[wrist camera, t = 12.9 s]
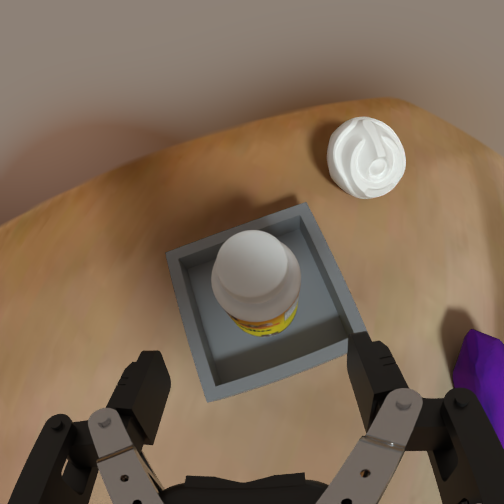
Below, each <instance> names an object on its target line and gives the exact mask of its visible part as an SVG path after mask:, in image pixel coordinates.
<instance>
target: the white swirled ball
mask: <svg viewBox="0 0 504 504" xmlns="http://www.w3.org/2000/svg"><path fill="white" fill-rule="evenodd" d="M327 163H328V167H329V173H330V176H331V178H332V179H333V181H334V182H335V183H336V184H337V185H338V186H339V187H340V188H341V189H342V190H344V191H345V192H347V193H348V194H350V195H352V196H354V197H357V198H361V199H370V198H375V197H379V196H382V195H384V194H386V193H388V192H389V191H391V190H392V189H393V188H394V187H395V186H396V184H397V183H398V182H399V181H400V179H401V178H402V176H403V174H404V171H405V166H406V157H405V152H404V149H403V146H402V144H401V142H400V140H399V138H398V136H397V135H396V133H395V132H394V131H393V130H392V129H391V128H390V127H389V126H388V125H386V124H385V123H383V122H381V121H379V120H377V119H373V118H369V117H357V118H353V119H350V120H348V121H346V122H344V123H343V124H342V125H340V126H339V127H338V128H337V129H336V130H335V131H334V132H333V133H332V135H331V137H330V140H329V145H328V149H327Z"/></svg>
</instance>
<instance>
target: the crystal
mask: <svg viewBox="0 0 504 504" xmlns="http://www.w3.org/2000/svg"><path fill="white" fill-rule="evenodd" d="M453 382H454V387H455V388H466V389H469V390H471V391H472V392H474V393H475V395H476V396H477V398H478V400H479V402H480V403H481V405H482V407H483V409H484V411H485V413H486V415H487V416H488V418H489V420H490V422H491V424H492V426H493V428H494V430H495V432H496V434H497V436H498V438H499V440H500V442H501V444H502V447H503V449H504V344H503V343H502V342H501V341H500V340H499V339H497V338H494V337H492V336H489V335H487V334H484V333H481V332H479V331H476V330H474V329H471V330H470V331H469V332H468V333H467V335H466V336H465V338H464V341H463V344H462V347H461V350H460V354H459V357H458V360H457V362H456V365H455V368H454V371H453Z"/></svg>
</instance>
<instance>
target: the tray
mask: <svg viewBox="0 0 504 504" xmlns="http://www.w3.org/2000/svg"><path fill="white" fill-rule="evenodd" d="M247 230H259V231H264V232H267V233H269V234H271V235H272V236H274V237H275V238H277V239H278V240H279V241H280V242H282V243H283V244H285V245H286V246H287V247H288V248H289V249H290V250H291V251H292V252H293V254H294V255H295V257H296V259H297V261H298V263H299V267H300V272H301V285H300V292H299V300H298V306H297V312H296V315H295V317H294V319H293V321H292V323H291V324H290V325H289V326H288V327H287V328H286V329H285V330H284V331H283V332H281V333H279V334H277V335H275V336H271V337H256V336H252V335H249V334H247V333H246V332H244V331H243V330H241V329H240V328H239V327H238V326H237V325H236V324H235V322H234V321H233V320H232V319H231V318H230V316H229V315H228V314H227V313H226V312H225V311H224V309H223V308H222V307H221V305H220V304H219V303H218V301H217V299H216V297H215V295H214V293H213V289H212V283H211V275H212V269H213V266H214V263H215V261H216V258H217V255H218V252H219V250H220V248H221V247H222V245H223V244H224V243H225V242H226V241H227V240H228V239H229V238H230V237H232V236H233V235H235V234H237V233H239V232H243V231H247ZM165 254H166V258H167V262H168V267H169V271H170V275H171V279H172V283H173V287H174V291H175V295H176V299H177V303H178V307H179V310H180V314H181V318H182V321H183V325H184V329H185V332H186V336H187V339H188V343H189V346H190V349H191V353H192V356H193V359H194V363H195V366H196V369H197V373H198V376H199V379H200V382H201V385H202V388H203V391H204V394H205V397H206V400H207V402H212V401H217V400H221V399H224V398H227V397H231V396H234V395H237V394H241V393H244V392H247V391H250V390H253V389H256V388H259V387H262V386H265V385H268V384H271V383H274V382H276V381H279V380H282V379H285V378H288V377H290V376H293V375H296V374H298V373H301V372H303V371H306V370H309V369H311V368H314V367H316V366H319V365H321V364H324V363H326V362H328V361H331V360H333V359H336V358H338V357H340V356H343V355H345V354H347V351H348V335H349V334H351V333H357V332H363V331H367V330H366V327H365V325H364V323H363V320H362V318H361V316H360V314H359V311H358V309H357V307H356V304H355V302H354V300H353V298H352V296H351V293H350V291H349V289H348V287H347V285H346V282H345V280H344V278H343V276H342V274H341V272H340V270H339V267H338V265H337V263H336V261H335V259H334V257H333V255H332V253H331V251H330V249H329V247H328V244H327V242H326V240H325V238H324V236H323V234H322V232H321V230H320V228H319V226H318V224H317V222H316V220H315V218H314V216H313V214H312V212H311V211H310V209H309V207H308V205H307V203H306V202H305V203H302V204H299V205H296V206H293V207H290V208H287V209H285V210H282V211H279V212H276V213H273V214H270V215H267V216H265V217H262V218H259V219H256V220H253V221H250V222H248V223H245V224H242V225H239V226H236V227H234V228H231V229H228V230H225V231H222V232H220V233H217V234H214V235H211V236H209V237H206V238H203V239H201V240H198V241H195V242H192V243H190V244H187V245H184V246H182V247H179V248H176V249H174V250H171V251H168V252H166V253H165ZM367 333H368V332H367ZM368 335H369V334H368Z"/></svg>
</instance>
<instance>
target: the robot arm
mask: <svg viewBox="0 0 504 504" xmlns="http://www.w3.org/2000/svg"><path fill="white" fill-rule="evenodd" d="M347 370H348V375H349V378H350V381H351V384H352V388H353V391H354V394H355V397H356V400H357V404H358V407H359V410H360V414H361V417H362V420H363V424H364V427H365V431H366V433H367V434H366V435H365V436H362V437H361V438H360V439H359V441H358V442H357V444H356V446H355V447H354V449H353V450H352V452H351V454H350V455H349V457H348V458H347V460H346V461H345V463H344V464H343V466H342V467H341V469H340V470H339V472H338V473H337V475H336V476H335V478H334V479H333V481H332V482H331V483H330V485H327V484H325V483H322V482H318V481H313V480H305V473H295V474H284V475H274V476H270V477H266V478H263V479H259V480H255V481H251V482H246V483H240V482H235V481H230V480H226V479H221V478H217V477H205V476H186V480H185V483H182V484H178V485H174V486H171V487H169V488H167V489H165V488H164V487H163V486H162V484H161V483H160V481H159V479H158V478H157V476H156V474H155V473H154V471H153V469H152V467H151V466H150V464H149V462H148V460H147V458H146V457H145V455H144V453H143V451H142V447H143V444H146V445H153V444H154V440H155V437H156V434H157V430H158V427H159V424H160V421H161V417H162V414H163V411H164V408H165V404H166V401H167V398H168V395H169V392H170V388H171V380H170V376H169V373H168V370H167V368H166V365H165V363H164V360H163V357H162V354H161V352H160V351H142V352H141V354H140V356H139V358H138V360H137V362H132V363H131V364H130V365H129V366H128V367H127V368H126V369H125V370H124V372H123V374H122V376H121V379H120V380H119V382H118V386H116V388H115V390H114V392H113V394H112V396H111V398H110V400H109V402H108V404H107V406H106V408H102V409H99V410H97V411H95V412H94V413H93V414H92V415H91V416H90V418H89V420H87V421H80V422H72V420H71V419H70V418H69V417H68V416H67V415H65V414H57V415H54V416H52V417H51V418H49V419H48V420H47V421H46V423H45V425H44V427H43V429H42V431H41V433H40V435H39V437H38V439H37V441H36V443H35V445H34V447H33V449H32V451H31V453H30V455H29V457H28V459H27V461H26V463H25V465H24V467H23V470H22V472H21V474H20V476H19V478H18V481H17V483H16V485H15V488H14V490H13V492H12V495H11V497H10V499H9V502H8V504H88V503H89V500H90V496H91V493H92V490H93V486H94V483H95V480H96V477H97V474H98V470H99V471H100V474H101V476H102V479H103V481H104V484H105V486H106V489H107V491H108V493H109V496H110V498H111V500H112V503H113V504H378V503H379V501H380V499H381V498H382V496H383V494H384V492H385V490H386V488H387V486H388V484H389V483H390V481H391V479H392V477H393V475H394V473H395V471H396V469H397V467H398V465H399V463H400V461H401V458H402V456H403V454H404V452H405V451H427V453H428V456H429V459H430V462H431V465H432V468H433V472H434V475H435V478H436V482H437V485H438V489H439V492H440V496H441V500H442V503H443V504H504V449H503V447H502V444H501V442H500V440H499V438H498V436H497V434H496V432H495V430H494V428H493V426H492V424H491V422H490V420H489V418H488V416H487V415H486V413H485V411H484V409H483V407H482V405H481V403H480V402H479V400H478V398H477V396H476V395H475V393H474V392H472V391H471V390H469V389H466V388H454V389H452V390H450V391H448V392H447V394H446V395H445V397H444V398H437V399H428V398H422V397H421V396H420V394H419V393H418V392H416V391H414V390H412V389H409V387H408V385H407V383H406V381H405V379H404V377H403V375H402V373H401V371H400V369H399V367H398V365H397V364H396V362H395V360H394V358H393V357H392V354H391V352H390V350H389V348H388V347H387V346H386V345H385V344H383V343H382V342H381V341H375V342H372V341H371V339H370V337H369V335H368V333H367V331H363V332H357V333H351V334H349V335H348V351H347ZM66 459H68V463H67V465H66V468H65V470H64V473H63V475H61V472H62V469H63V466H64V464H65V461H66Z"/></svg>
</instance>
